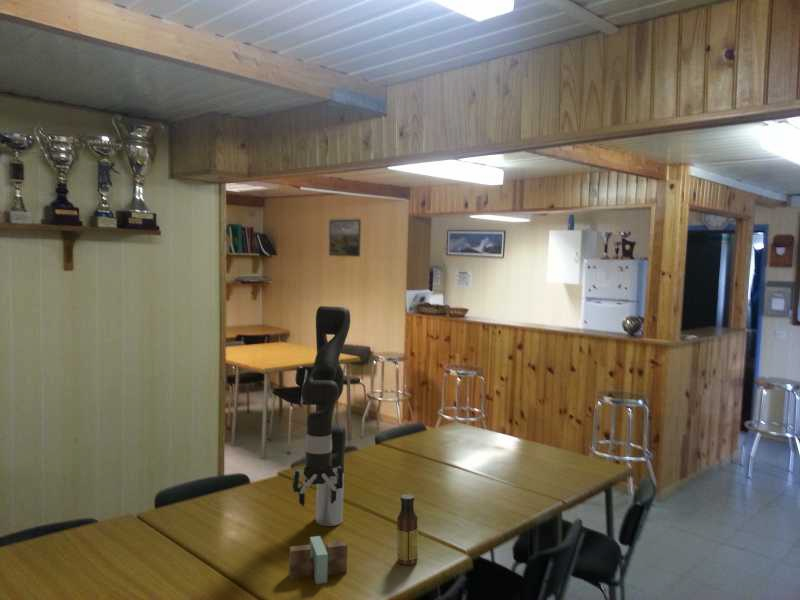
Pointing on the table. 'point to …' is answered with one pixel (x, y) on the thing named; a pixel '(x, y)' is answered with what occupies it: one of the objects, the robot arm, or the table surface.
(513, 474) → the table surface
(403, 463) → the table surface
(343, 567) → the walnut u-shaped block
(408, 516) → the sauce bottle
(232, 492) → the table surface
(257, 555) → the table surface
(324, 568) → the teal board
